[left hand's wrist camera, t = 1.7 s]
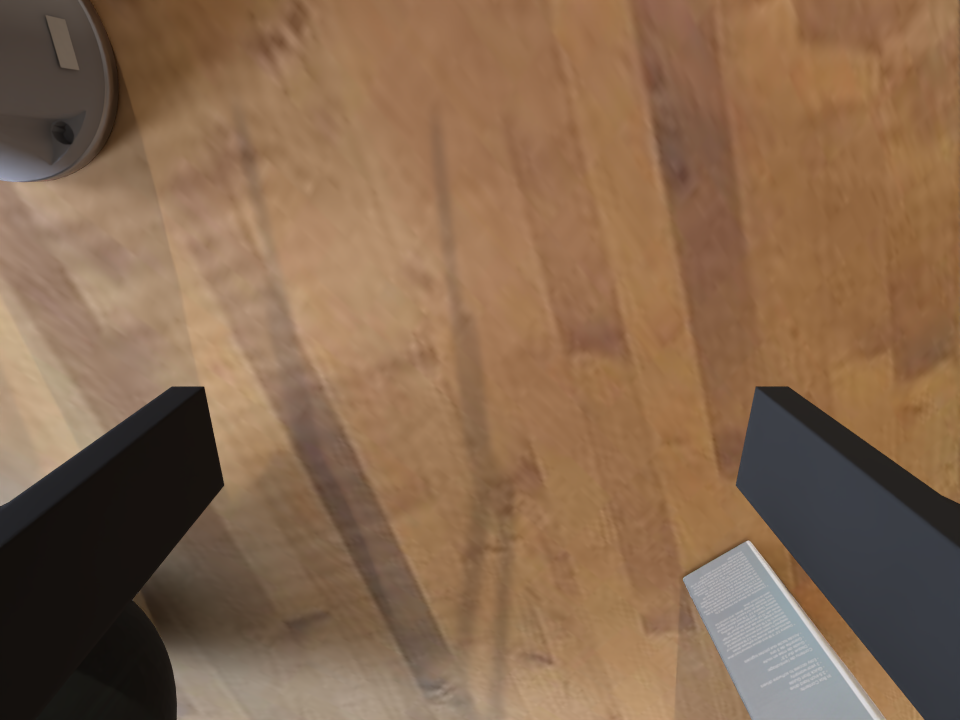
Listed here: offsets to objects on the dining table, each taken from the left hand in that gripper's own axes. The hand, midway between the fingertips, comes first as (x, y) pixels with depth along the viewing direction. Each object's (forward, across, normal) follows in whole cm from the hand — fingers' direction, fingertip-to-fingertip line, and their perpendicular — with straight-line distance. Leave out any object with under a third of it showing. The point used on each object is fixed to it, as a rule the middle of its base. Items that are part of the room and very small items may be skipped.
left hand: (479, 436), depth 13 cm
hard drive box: (+28, -27, +34) cm, 52 cm away
